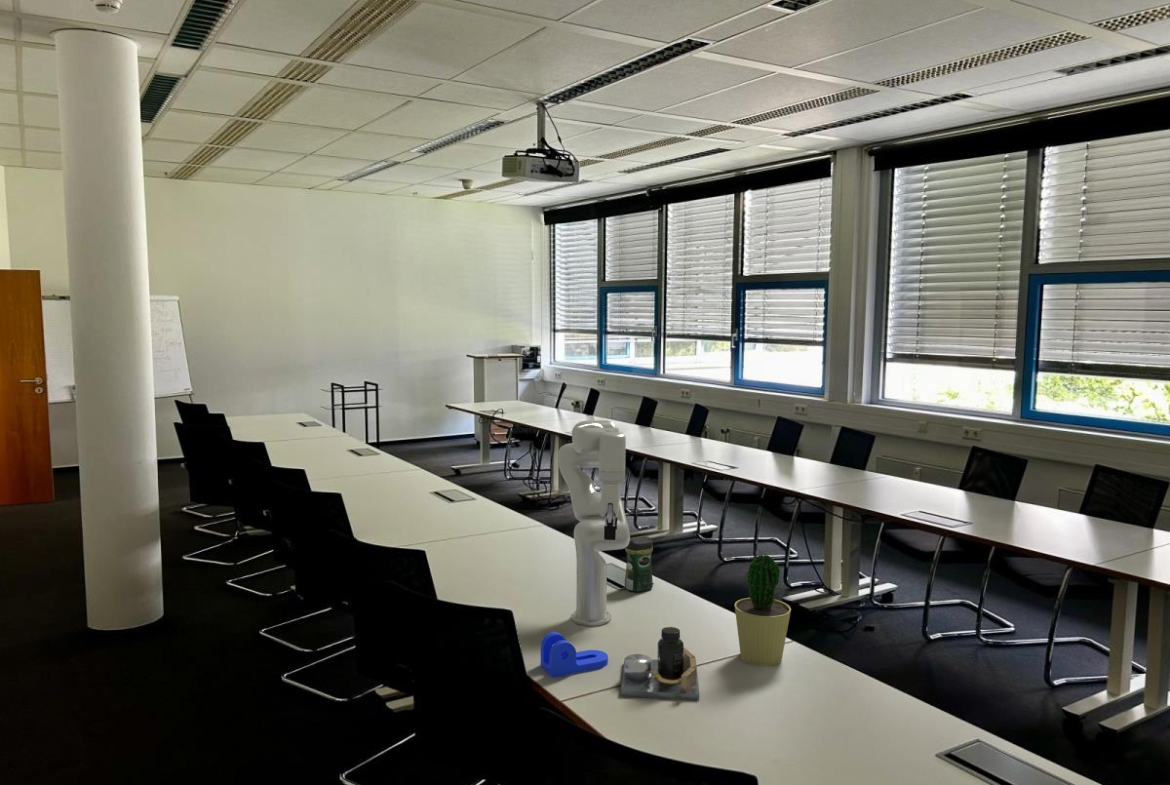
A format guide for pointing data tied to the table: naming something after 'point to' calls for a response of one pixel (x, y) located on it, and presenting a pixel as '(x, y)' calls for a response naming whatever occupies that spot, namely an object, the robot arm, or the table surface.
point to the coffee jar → (639, 564)
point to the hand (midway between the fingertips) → (610, 534)
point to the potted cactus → (762, 615)
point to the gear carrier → (658, 679)
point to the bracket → (568, 657)
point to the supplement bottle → (670, 654)
